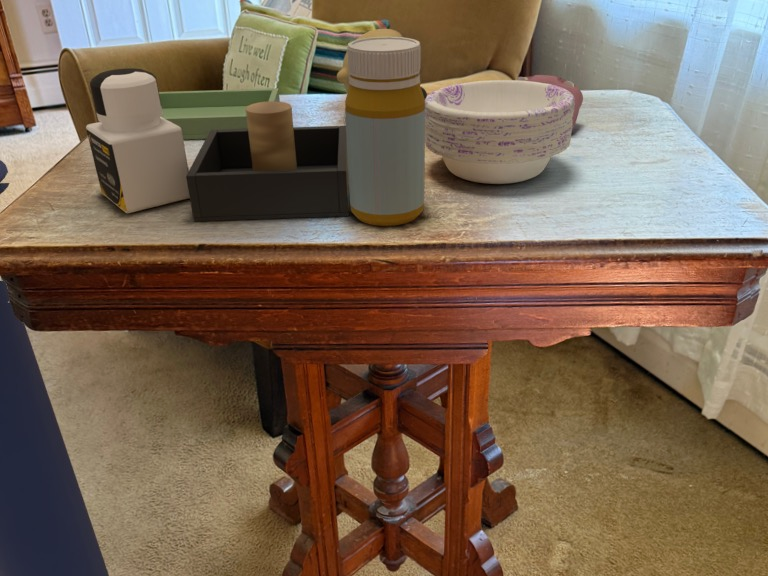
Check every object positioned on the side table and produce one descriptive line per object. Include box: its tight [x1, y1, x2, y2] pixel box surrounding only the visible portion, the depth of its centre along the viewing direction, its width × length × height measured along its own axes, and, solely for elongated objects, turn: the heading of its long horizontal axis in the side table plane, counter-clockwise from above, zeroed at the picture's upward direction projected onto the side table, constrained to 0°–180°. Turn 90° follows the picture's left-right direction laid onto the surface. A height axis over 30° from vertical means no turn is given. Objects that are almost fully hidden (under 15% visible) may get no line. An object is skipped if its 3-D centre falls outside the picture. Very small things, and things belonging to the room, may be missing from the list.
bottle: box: [344, 36, 426, 227], centre depth 68 cm, size 7×7×15 cm
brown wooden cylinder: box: [246, 101, 297, 171], centre depth 75 cm, size 4×4×8 cm
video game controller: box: [515, 74, 584, 130], centre depth 93 cm, size 10×5×7 cm, turn 63°
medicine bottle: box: [85, 67, 190, 214], centre depth 74 cm, size 7×7×12 cm
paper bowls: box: [425, 79, 575, 185], centre depth 79 cm, size 15×15×8 cm
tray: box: [159, 87, 281, 141], centre depth 98 cm, size 18×14×3 cm
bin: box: [186, 125, 349, 222], centre depth 76 cm, size 15×15×4 cm
